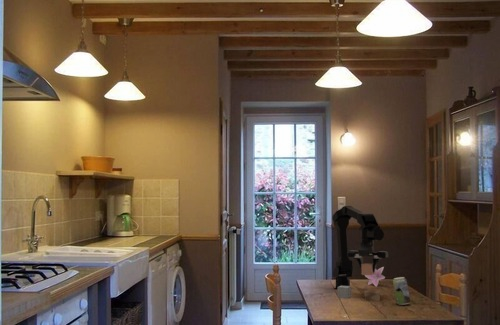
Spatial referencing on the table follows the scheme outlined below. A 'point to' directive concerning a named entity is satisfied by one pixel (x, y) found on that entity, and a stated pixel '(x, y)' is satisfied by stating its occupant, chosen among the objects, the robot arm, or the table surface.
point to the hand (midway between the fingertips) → (368, 272)
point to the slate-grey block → (344, 291)
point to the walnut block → (372, 295)
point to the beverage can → (401, 291)
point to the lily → (375, 277)
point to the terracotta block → (367, 269)
